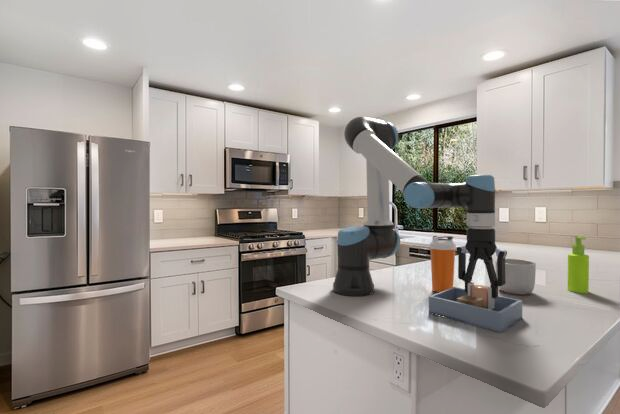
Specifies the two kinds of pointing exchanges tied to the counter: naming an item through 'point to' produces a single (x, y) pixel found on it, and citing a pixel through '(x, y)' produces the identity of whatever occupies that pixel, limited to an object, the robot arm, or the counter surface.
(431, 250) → the shaker bottle
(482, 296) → the peach capsule pill
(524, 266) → the planter
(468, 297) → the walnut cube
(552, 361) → the counter surface
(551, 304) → the counter surface
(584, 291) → the soap dispenser
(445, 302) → the tote
